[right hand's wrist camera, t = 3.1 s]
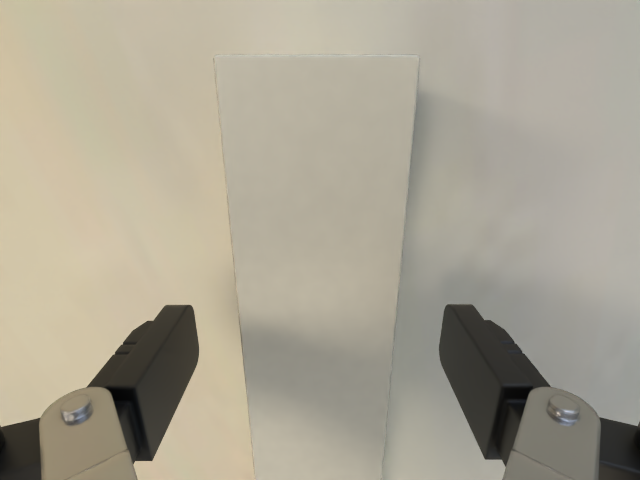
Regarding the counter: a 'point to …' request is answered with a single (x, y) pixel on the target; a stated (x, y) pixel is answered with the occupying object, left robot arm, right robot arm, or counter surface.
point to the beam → (317, 250)
